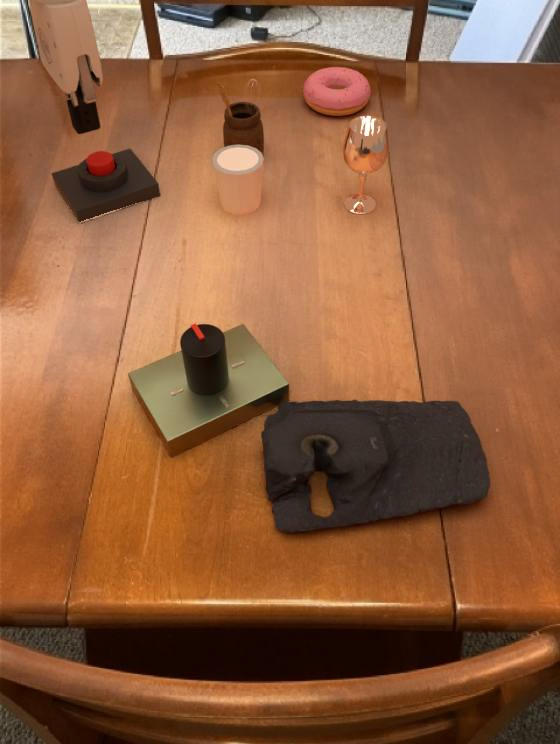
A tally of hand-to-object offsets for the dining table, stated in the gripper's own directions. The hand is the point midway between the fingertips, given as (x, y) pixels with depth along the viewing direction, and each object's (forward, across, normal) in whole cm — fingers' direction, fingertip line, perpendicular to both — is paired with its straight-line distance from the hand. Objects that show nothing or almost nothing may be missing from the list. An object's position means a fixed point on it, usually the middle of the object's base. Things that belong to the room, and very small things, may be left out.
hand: (87, 128), depth 89 cm
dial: (+7, +40, -3) cm, 41 cm away
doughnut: (+9, -3, +42) cm, 43 cm away
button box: (+10, 0, +1) cm, 10 cm away
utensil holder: (+10, +2, +22) cm, 24 cm away
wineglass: (+9, +21, +30) cm, 38 cm away
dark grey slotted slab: (+10, +56, +7) cm, 57 cm away
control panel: (+10, +40, -3) cm, 41 cm away
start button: (+6, 0, +1) cm, 6 cm away
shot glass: (+10, +12, +16) cm, 22 cm away
